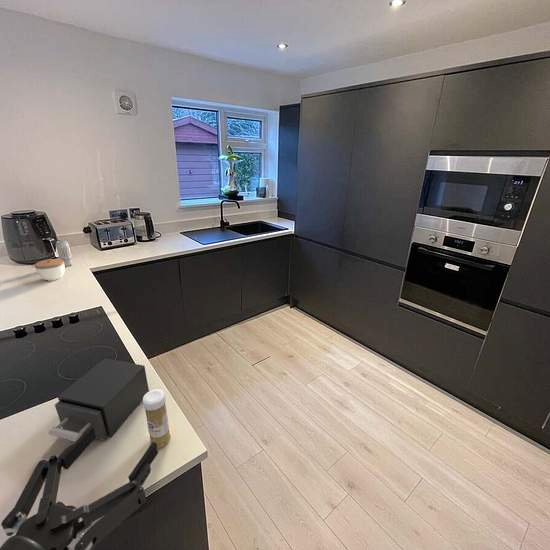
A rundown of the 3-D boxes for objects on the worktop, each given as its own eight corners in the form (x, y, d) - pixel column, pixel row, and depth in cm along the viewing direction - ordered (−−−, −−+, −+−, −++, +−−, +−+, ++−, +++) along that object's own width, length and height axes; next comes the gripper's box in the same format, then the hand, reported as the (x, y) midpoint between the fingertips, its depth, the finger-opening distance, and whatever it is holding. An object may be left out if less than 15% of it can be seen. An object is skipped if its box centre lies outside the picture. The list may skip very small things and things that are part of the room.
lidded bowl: (38, 285, 147) (32, 264, 143) (39, 277, 157) (33, 258, 153) (68, 279, 154) (63, 260, 150) (67, 272, 164) (62, 254, 160)
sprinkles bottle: (146, 447, 66) (138, 403, 61) (156, 430, 70) (148, 387, 65) (166, 449, 66) (158, 405, 61) (174, 432, 70) (168, 389, 65)
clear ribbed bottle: (64, 267, 171) (58, 243, 166) (59, 265, 174) (53, 241, 168) (75, 264, 176) (69, 241, 170) (70, 262, 179) (64, 239, 173)
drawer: (88, 457, 63) (80, 431, 60) (45, 445, 65) (36, 420, 62) (141, 397, 79) (136, 374, 76) (105, 389, 81) (100, 367, 78)
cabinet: (111, 437, 68) (103, 407, 65) (67, 426, 71) (57, 396, 67) (149, 393, 81) (144, 365, 78) (111, 385, 84) (104, 358, 80)
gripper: (-61, 575, 39) (73, 439, 58) (94, 640, 34) (185, 468, 53) (-85, 543, 36) (64, 412, 56) (80, 608, 31) (181, 439, 51)
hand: (123, 439), depth 55 cm, fingers open, 13 cm apart
